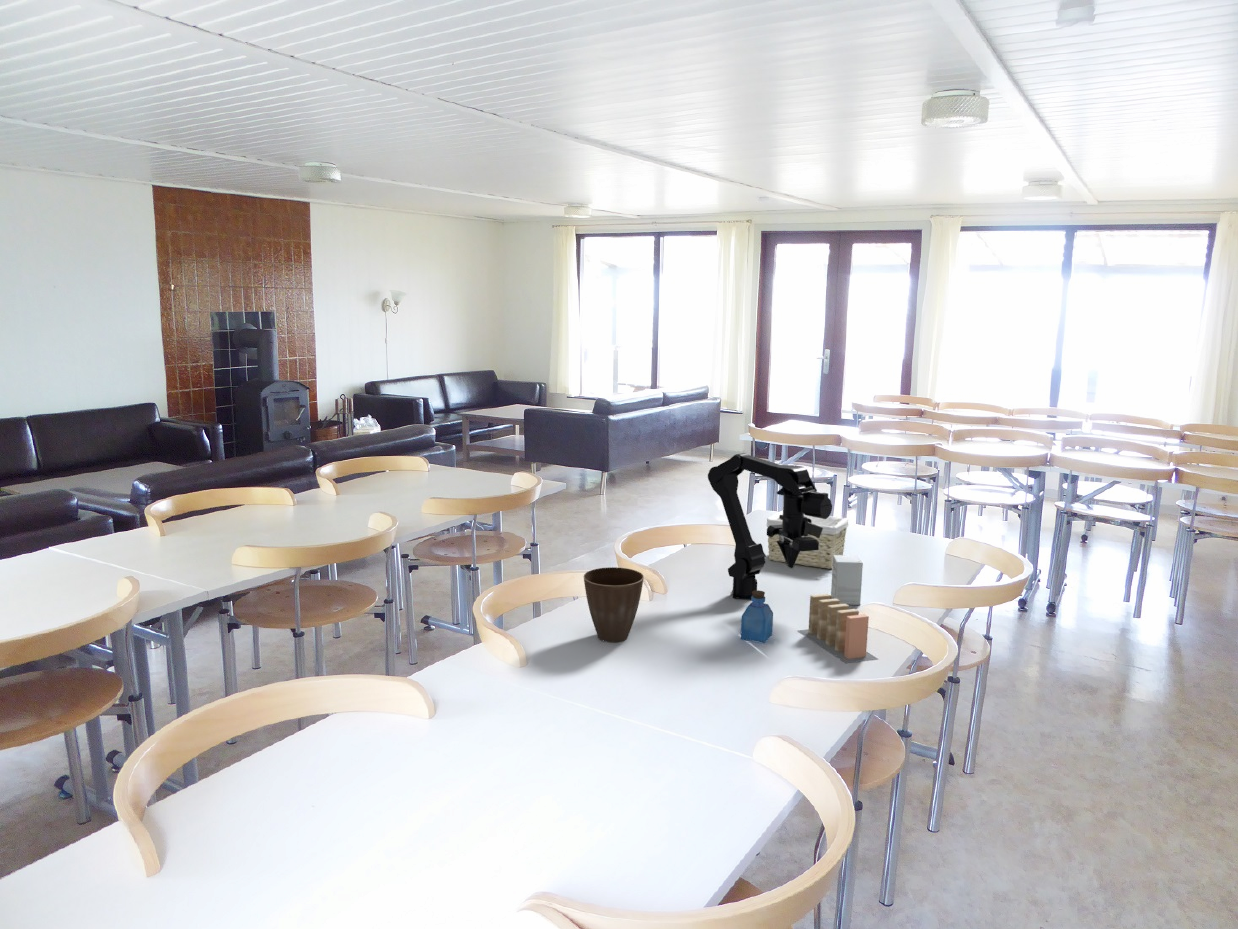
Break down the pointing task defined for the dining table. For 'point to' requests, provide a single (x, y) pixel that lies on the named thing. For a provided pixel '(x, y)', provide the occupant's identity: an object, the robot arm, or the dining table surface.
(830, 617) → the domino
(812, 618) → the domino
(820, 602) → the domino
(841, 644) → the domino
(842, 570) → the supplement box
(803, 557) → the storage basket
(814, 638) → the mat
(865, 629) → the domino
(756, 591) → the perfume bottle
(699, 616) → the dining table surface
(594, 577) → the plant pot
